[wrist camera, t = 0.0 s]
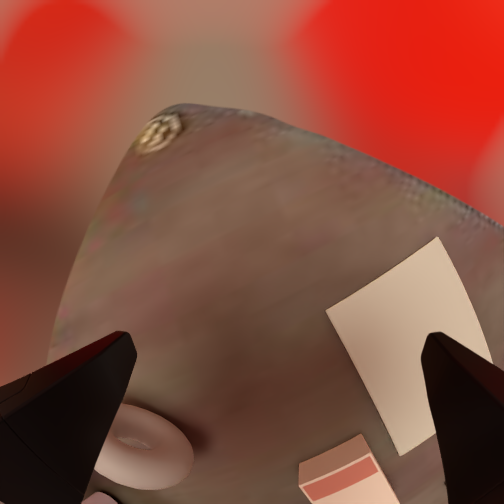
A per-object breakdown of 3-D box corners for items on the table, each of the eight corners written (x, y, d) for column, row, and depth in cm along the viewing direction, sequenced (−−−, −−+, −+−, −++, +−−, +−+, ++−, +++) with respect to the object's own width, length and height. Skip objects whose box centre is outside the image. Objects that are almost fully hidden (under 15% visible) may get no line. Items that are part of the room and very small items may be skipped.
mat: (494, 378, 17) (497, 379, 17) (398, 454, 18) (400, 456, 17) (435, 237, 21) (437, 236, 21) (324, 310, 22) (325, 310, 21)
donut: (214, 433, 21) (168, 491, 11) (203, 459, 20) (158, 519, 11) (121, 385, 23) (48, 408, 13) (115, 412, 22) (47, 441, 13)
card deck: (392, 488, 17) (403, 509, 13) (337, 514, 17) (341, 538, 13) (360, 432, 19) (370, 452, 15) (299, 462, 19) (298, 485, 15)
